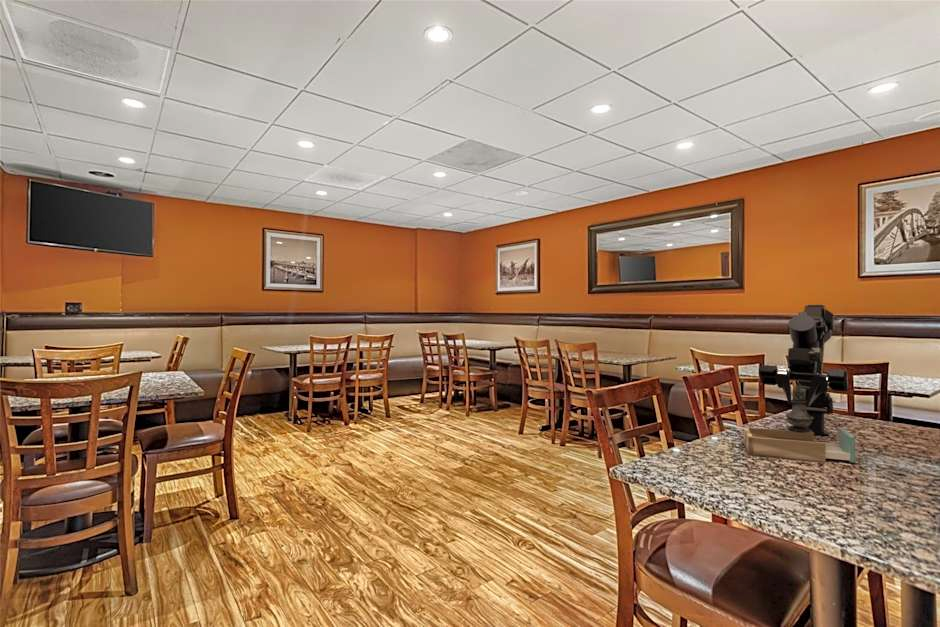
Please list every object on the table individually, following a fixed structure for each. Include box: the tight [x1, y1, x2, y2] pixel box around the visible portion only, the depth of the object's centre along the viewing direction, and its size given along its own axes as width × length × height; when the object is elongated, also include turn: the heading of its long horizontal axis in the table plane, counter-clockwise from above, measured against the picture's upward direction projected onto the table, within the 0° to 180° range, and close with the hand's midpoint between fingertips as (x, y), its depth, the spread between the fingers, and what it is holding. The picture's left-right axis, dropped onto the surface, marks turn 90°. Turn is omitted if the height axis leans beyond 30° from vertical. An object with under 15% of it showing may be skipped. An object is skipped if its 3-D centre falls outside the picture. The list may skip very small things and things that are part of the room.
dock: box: [742, 426, 827, 463], centre depth 123 cm, size 11×16×4 cm
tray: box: [772, 427, 856, 463], centre depth 120 cm, size 9×16×6 cm, turn 66°
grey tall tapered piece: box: [785, 383, 814, 433], centre depth 120 cm, size 6×6×12 cm
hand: (798, 404), depth 119 cm, fingers closed on grey tall tapered piece, 4 cm apart
